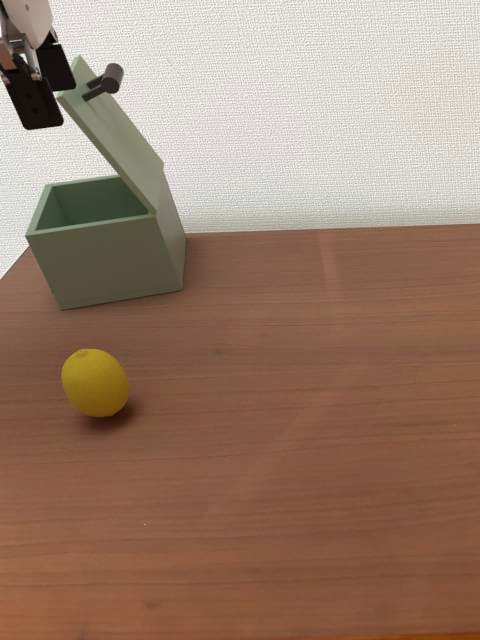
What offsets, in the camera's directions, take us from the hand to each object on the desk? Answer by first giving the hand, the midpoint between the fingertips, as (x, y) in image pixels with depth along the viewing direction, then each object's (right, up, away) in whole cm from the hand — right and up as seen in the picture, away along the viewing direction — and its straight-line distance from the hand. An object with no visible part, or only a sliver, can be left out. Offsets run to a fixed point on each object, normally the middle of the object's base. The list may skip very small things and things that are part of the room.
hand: (52, 107), depth 75 cm
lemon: (+1, -28, +8) cm, 29 cm away
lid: (-4, +4, +19) cm, 19 cm away
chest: (-8, -10, +29) cm, 32 cm away
